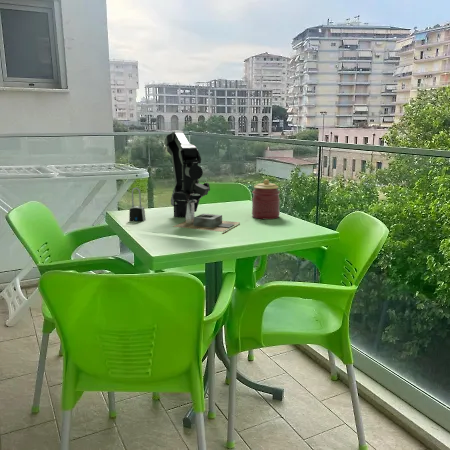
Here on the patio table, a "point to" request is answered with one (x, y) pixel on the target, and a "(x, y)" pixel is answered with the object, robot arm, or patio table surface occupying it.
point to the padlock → (136, 210)
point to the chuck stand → (209, 223)
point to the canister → (265, 201)
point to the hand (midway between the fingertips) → (190, 213)
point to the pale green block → (190, 212)
